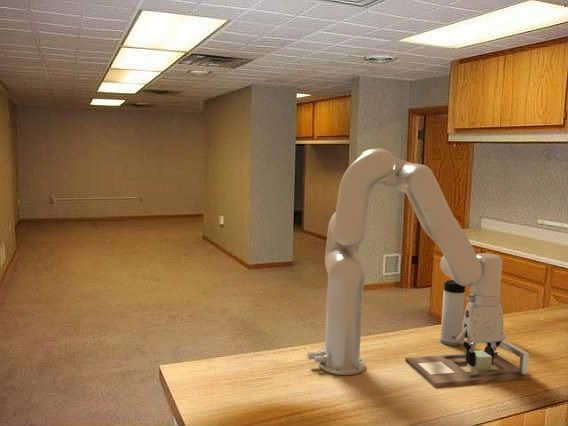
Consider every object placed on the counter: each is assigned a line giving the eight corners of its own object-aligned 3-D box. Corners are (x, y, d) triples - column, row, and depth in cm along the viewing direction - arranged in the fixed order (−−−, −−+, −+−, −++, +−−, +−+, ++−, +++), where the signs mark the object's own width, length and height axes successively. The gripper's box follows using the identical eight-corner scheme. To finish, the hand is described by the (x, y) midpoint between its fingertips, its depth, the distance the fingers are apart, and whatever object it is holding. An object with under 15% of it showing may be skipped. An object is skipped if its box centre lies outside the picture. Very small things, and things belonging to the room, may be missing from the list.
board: (434, 387, 128) (434, 381, 128) (405, 361, 144) (405, 355, 143) (530, 378, 134) (530, 373, 134) (492, 355, 150) (493, 349, 150)
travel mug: (458, 348, 154) (463, 283, 152) (437, 342, 158) (441, 280, 156) (465, 342, 159) (469, 280, 157) (444, 337, 163) (448, 276, 161)
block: (476, 373, 137) (477, 357, 137) (467, 366, 142) (468, 351, 141) (490, 372, 138) (492, 356, 138) (481, 365, 143) (482, 350, 142)
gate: (521, 374, 134) (523, 353, 133) (485, 351, 149) (487, 332, 148) (527, 374, 134) (528, 353, 134) (490, 351, 149) (492, 332, 149)
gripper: (463, 304, 132) (459, 371, 134) (520, 302, 136) (515, 367, 138) (448, 296, 139) (444, 360, 141) (502, 294, 143) (497, 356, 145)
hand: (479, 363), depth 140 cm, fingers open, 4 cm apart
